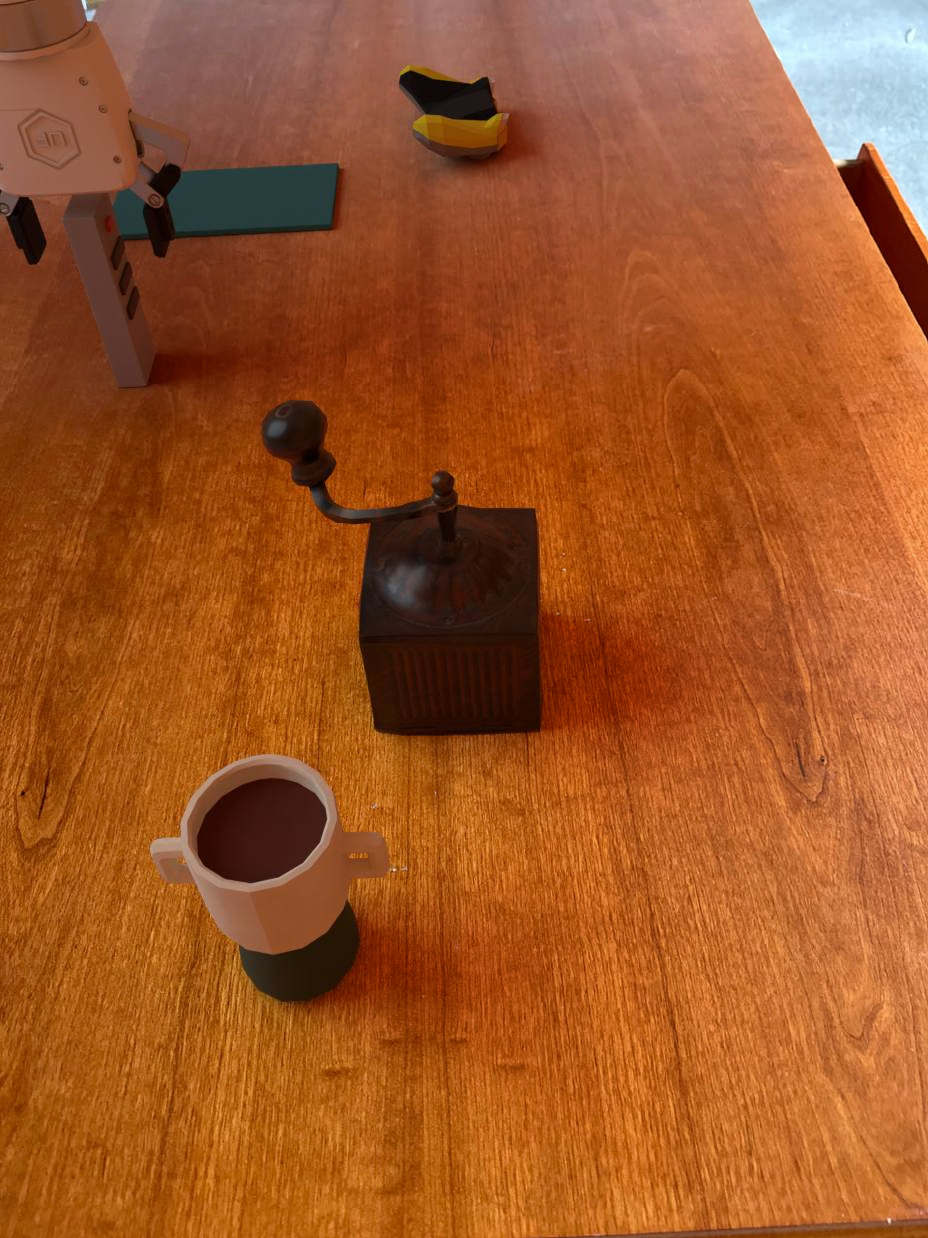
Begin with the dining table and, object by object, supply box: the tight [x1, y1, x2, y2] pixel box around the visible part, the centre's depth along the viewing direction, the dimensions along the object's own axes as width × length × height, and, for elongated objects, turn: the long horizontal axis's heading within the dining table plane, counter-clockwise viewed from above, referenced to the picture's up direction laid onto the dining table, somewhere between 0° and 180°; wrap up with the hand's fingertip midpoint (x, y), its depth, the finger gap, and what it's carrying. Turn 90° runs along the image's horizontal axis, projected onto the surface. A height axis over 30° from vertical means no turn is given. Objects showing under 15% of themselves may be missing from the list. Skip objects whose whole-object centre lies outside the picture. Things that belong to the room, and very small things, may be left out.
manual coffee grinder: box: [260, 399, 544, 736], centre depth 66 cm, size 16×11×18 cm
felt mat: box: [112, 162, 340, 241], centre depth 113 cm, size 22×12×1 cm, turn 91°
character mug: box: [149, 753, 391, 1003], centre depth 55 cm, size 11×7×13 cm, turn 90°
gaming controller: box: [398, 64, 510, 160], centre depth 118 cm, size 15×6×10 cm
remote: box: [61, 193, 157, 388], centre depth 89 cm, size 3×5×15 cm, turn 1°
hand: (100, 251), depth 87 cm, fingers open, 9 cm apart
